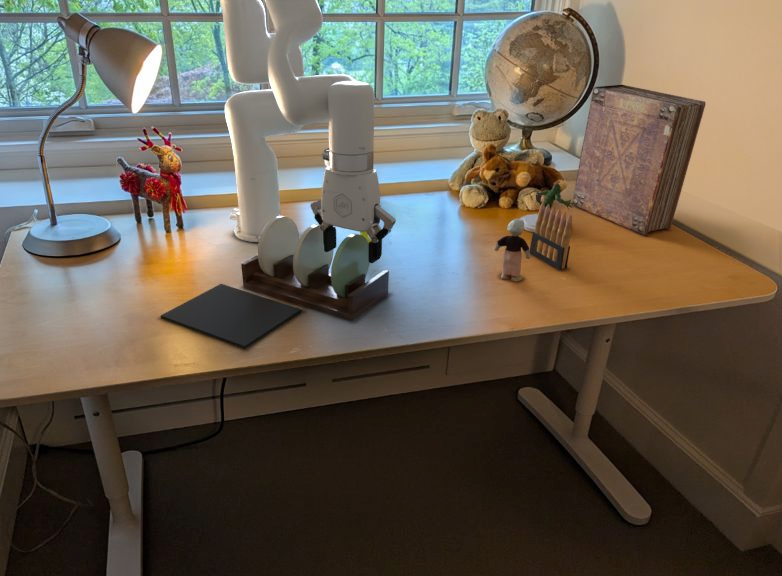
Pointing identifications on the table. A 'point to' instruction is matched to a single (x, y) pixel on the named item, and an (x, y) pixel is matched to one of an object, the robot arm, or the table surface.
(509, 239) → the grandmother figurine
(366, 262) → the green plate
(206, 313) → the mat
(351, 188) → the robot arm
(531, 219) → the monster figurine
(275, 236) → the cream plate
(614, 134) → the book
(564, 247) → the ammunition clip
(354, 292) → the plate rack
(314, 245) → the cream plate
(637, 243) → the table surface
